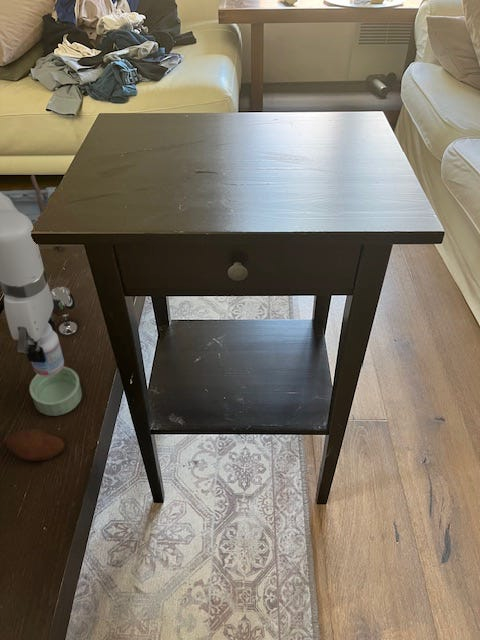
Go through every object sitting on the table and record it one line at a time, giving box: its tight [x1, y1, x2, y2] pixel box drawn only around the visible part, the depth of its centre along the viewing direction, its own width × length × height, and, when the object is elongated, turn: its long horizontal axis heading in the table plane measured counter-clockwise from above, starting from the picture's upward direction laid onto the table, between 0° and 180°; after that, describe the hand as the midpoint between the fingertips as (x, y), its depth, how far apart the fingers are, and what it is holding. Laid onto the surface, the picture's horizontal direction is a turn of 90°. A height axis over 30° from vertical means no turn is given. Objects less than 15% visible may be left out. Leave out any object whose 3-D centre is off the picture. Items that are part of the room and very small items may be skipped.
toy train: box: [0, 186, 58, 225], centre depth 153 cm, size 11×28×15 cm
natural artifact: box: [30, 174, 63, 251], centre depth 145 cm, size 4×23×4 cm
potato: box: [5, 428, 65, 462], centre depth 99 cm, size 6×12×6 cm, turn 89°
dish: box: [29, 365, 83, 417], centre depth 109 cm, size 10×10×5 cm
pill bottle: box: [28, 323, 65, 376], centre depth 99 cm, size 6×6×11 cm
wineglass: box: [50, 286, 78, 336], centre depth 121 cm, size 6×6×12 cm
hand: (43, 347), depth 98 cm, fingers closed on pill bottle, 6 cm apart
